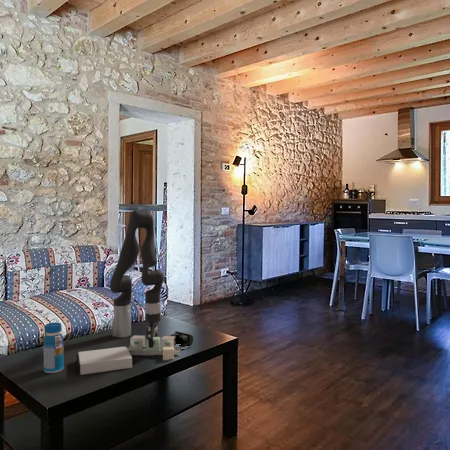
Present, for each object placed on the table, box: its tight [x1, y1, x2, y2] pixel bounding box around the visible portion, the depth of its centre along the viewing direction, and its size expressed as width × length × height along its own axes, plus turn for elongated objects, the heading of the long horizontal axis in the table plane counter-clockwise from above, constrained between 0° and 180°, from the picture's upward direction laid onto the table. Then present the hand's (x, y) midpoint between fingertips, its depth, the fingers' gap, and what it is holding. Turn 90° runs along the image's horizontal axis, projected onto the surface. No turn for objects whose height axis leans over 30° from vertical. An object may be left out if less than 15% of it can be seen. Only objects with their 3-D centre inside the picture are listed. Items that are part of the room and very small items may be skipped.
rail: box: [127, 334, 182, 356], centre depth 203 cm, size 26×7×8 cm, turn 86°
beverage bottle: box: [42, 322, 65, 374], centre depth 182 cm, size 8×8×20 cm
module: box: [145, 336, 161, 350], centre depth 203 cm, size 6×4×6 cm
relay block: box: [162, 347, 175, 361], centre depth 196 cm, size 5×4×5 cm
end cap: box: [169, 331, 194, 347], centre depth 213 cm, size 10×7×7 cm
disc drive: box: [76, 346, 133, 376], centre depth 188 cm, size 18×22×5 cm
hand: (153, 344), depth 203 cm, fingers open, 8 cm apart
